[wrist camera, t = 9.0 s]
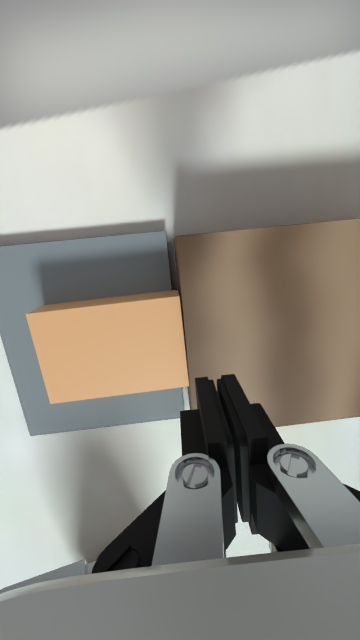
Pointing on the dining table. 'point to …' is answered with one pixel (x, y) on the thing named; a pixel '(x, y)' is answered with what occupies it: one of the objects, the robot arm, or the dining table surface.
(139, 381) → the tile
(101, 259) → the mat
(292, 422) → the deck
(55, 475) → the dining table surface
